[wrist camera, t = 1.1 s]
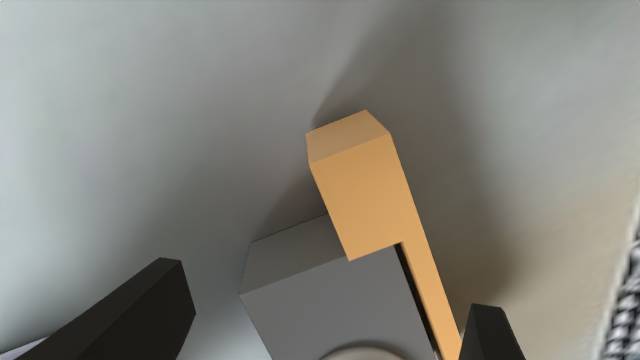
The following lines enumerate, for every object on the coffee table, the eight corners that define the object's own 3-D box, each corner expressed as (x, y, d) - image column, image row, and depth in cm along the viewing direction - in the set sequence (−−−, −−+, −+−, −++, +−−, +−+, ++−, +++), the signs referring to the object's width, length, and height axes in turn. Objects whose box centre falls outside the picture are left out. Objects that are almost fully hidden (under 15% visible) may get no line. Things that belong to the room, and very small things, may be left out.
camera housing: (325, 393, 24) (333, 493, 18) (250, 243, 20) (234, 311, 15) (430, 355, 23) (470, 447, 18) (370, 196, 20) (397, 251, 15)
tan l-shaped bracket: (401, 368, 23) (430, 455, 18) (305, 133, 18) (308, 164, 14) (451, 351, 23) (493, 433, 18) (365, 109, 18) (390, 132, 14)
